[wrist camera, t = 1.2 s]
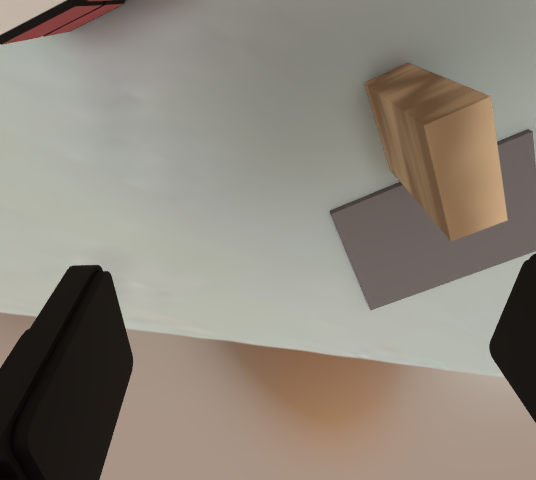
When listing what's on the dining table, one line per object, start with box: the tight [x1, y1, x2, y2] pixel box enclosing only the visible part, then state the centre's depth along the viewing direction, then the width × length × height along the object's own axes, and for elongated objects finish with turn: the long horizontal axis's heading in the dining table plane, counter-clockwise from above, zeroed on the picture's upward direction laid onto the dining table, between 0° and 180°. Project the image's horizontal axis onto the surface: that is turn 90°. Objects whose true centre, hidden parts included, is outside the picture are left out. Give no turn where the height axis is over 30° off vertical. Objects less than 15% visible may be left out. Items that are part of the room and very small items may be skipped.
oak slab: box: [364, 63, 508, 241], centre depth 28 cm, size 4×8×12 cm, turn 24°
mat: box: [330, 130, 536, 310], centre depth 38 cm, size 18×13×1 cm
